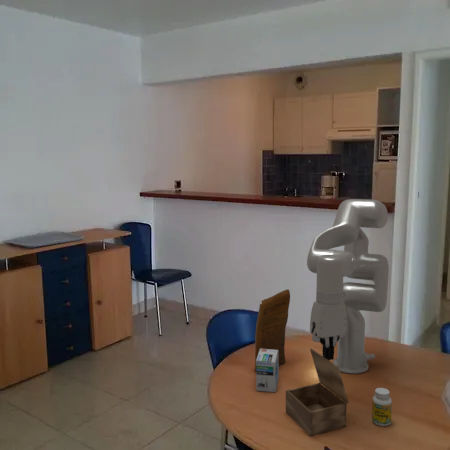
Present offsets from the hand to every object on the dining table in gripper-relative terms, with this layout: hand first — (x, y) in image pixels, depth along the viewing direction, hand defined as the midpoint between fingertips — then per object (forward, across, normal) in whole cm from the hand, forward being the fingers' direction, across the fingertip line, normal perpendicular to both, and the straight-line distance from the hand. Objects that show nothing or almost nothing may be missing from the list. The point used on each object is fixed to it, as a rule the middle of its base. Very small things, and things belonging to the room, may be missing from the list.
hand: (328, 358), depth 144 cm
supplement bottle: (+19, -13, +8) cm, 24 cm away
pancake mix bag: (+18, -1, -38) cm, 42 cm away
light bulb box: (+18, +7, -26) cm, 32 cm away
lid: (+6, 0, 0) cm, 6 cm away
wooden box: (+18, +4, -1) cm, 19 cm away
